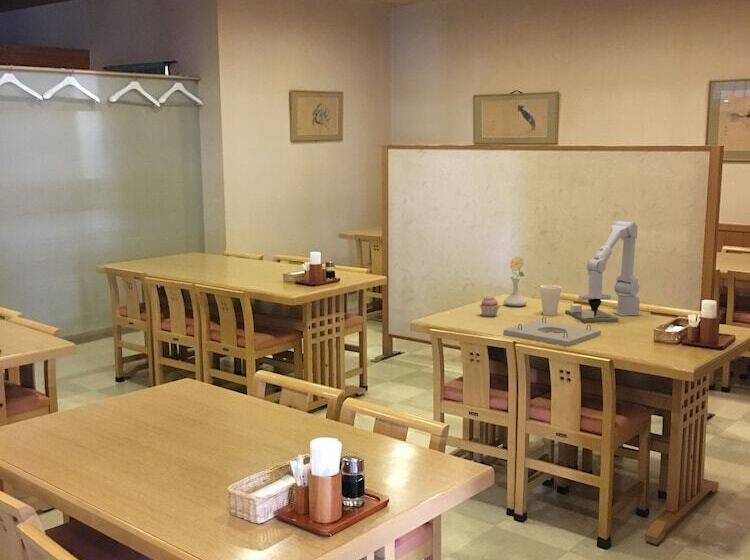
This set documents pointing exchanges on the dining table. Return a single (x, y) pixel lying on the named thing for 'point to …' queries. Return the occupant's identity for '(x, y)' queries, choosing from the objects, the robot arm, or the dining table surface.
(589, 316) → the handle
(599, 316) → the plate
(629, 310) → the robot arm
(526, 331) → the mounting panel
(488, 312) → the cupcake
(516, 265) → the flower in vase
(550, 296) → the foam cup
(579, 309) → the handle
